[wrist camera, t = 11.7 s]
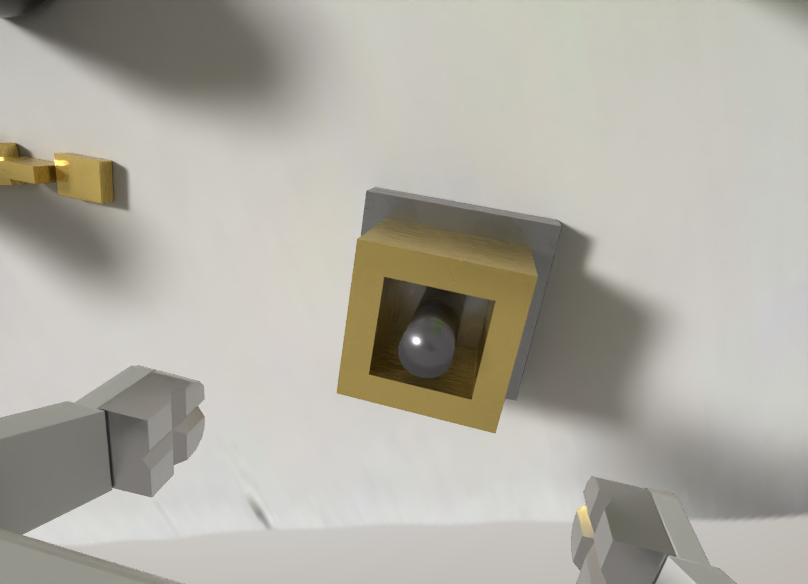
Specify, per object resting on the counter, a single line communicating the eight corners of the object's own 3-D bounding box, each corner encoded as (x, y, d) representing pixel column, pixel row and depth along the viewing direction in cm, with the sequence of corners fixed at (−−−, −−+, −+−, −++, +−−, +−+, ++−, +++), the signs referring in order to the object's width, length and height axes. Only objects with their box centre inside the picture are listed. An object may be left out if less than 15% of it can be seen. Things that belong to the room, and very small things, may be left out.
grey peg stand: (375, 187, 21) (320, 209, 15) (557, 220, 20) (583, 259, 14) (354, 347, 24) (299, 426, 18) (514, 384, 23) (520, 482, 16)
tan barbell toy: (-25, 135, 24) (-64, 135, 23) (111, 160, 23) (81, 162, 22) (-18, 182, 25) (-55, 186, 24) (114, 209, 24) (85, 214, 23)
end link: (386, 217, 20) (357, 238, 16) (530, 246, 19) (538, 276, 15) (367, 345, 22) (336, 392, 18) (496, 376, 21) (495, 433, 17)
